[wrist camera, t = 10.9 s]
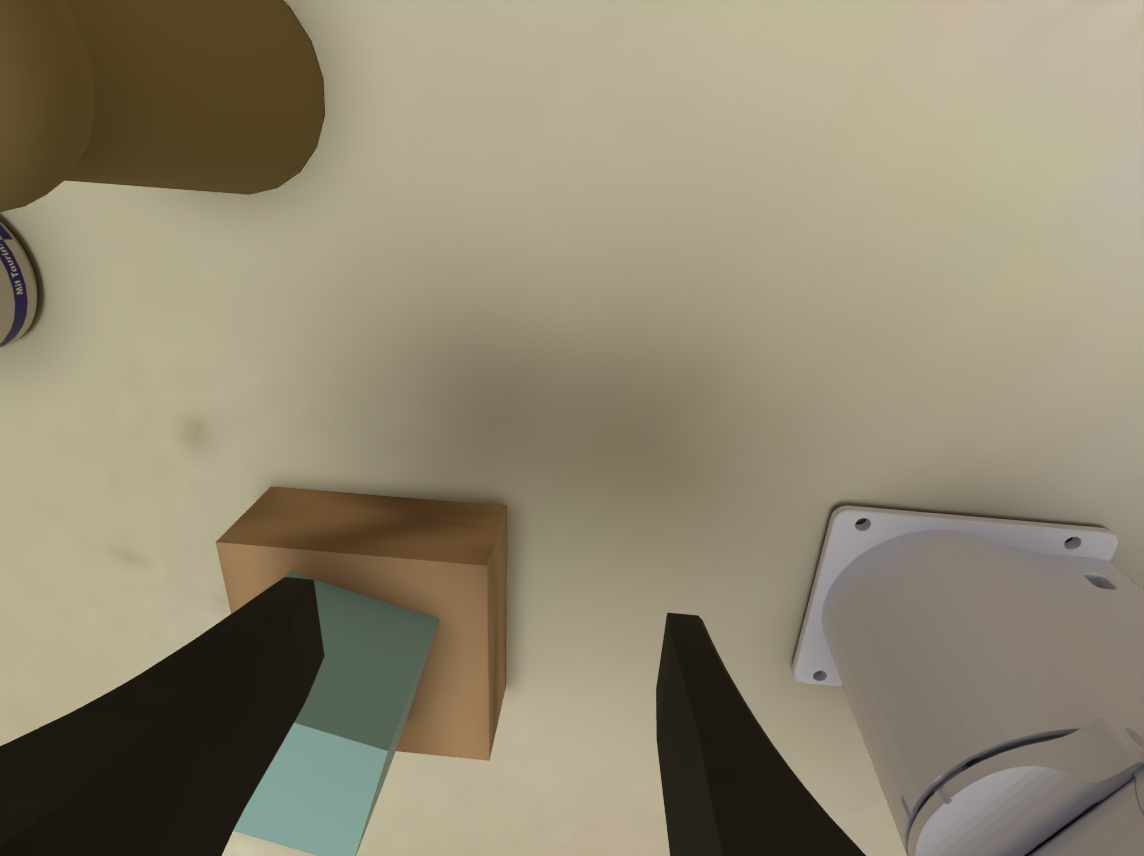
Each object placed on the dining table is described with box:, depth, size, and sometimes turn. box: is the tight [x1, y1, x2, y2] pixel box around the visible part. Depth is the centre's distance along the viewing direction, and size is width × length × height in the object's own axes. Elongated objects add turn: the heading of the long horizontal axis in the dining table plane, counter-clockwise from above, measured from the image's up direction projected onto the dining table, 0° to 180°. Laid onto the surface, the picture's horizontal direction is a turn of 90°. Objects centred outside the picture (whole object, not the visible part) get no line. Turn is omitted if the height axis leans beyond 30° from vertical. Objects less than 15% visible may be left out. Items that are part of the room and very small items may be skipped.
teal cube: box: [233, 571, 439, 856], centre depth 21 cm, size 5×5×5 cm
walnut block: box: [216, 487, 507, 761], centre depth 25 cm, size 9×9×4 cm
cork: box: [0, 0, 325, 212], centre depth 14 cm, size 6×6×11 cm
